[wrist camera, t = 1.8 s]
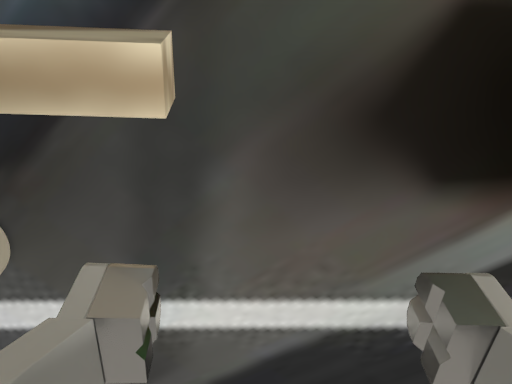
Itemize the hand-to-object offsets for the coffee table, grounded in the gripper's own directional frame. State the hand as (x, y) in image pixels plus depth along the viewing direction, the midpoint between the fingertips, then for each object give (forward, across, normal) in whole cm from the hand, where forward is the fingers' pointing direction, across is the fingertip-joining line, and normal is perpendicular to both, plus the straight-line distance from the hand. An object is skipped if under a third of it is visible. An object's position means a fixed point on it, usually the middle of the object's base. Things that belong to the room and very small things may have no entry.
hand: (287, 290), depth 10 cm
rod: (+20, +14, 0) cm, 24 cm away
